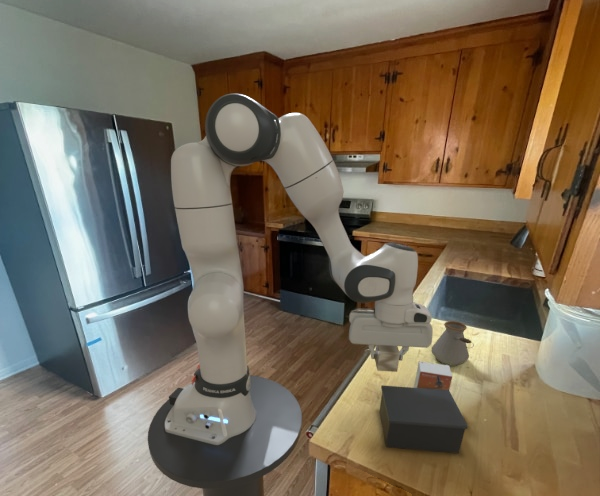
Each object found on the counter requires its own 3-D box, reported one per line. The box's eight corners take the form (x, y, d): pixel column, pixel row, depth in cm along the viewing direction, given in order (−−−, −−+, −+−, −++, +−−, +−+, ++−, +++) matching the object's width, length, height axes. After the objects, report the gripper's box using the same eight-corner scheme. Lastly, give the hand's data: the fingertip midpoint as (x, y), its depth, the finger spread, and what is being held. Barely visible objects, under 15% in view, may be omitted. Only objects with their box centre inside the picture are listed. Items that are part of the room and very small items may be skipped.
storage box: (384, 448, 74) (389, 420, 71) (378, 410, 86) (381, 385, 83) (460, 454, 73) (468, 426, 70) (443, 415, 85) (449, 390, 82)
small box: (413, 404, 89) (419, 371, 85) (412, 392, 94) (418, 360, 90) (445, 410, 87) (452, 376, 83) (442, 397, 92) (449, 364, 88)
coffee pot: (427, 349, 116) (435, 310, 111) (462, 353, 114) (471, 313, 109) (439, 384, 97) (448, 339, 91) (480, 389, 95) (493, 344, 89)
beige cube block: (377, 370, 84) (379, 352, 82) (374, 358, 89) (376, 340, 87) (397, 372, 83) (400, 353, 81) (393, 359, 89) (395, 341, 87)
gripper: (350, 312, 78) (346, 362, 83) (438, 317, 76) (429, 367, 82) (349, 303, 84) (345, 350, 89) (431, 306, 82) (423, 354, 87)
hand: (386, 358), depth 85 cm, fingers closed on beige cube block, 5 cm apart
